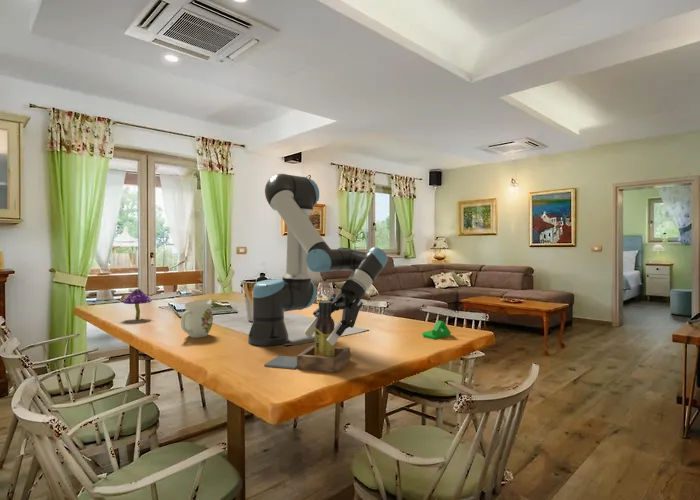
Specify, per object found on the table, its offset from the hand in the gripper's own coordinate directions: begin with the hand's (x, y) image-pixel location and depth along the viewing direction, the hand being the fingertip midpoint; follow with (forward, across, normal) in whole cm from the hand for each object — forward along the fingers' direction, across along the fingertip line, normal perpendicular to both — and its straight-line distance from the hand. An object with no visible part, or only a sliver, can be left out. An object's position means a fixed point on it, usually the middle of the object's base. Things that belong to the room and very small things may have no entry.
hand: (317, 339), depth 124 cm
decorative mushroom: (+25, +114, +13) cm, 118 cm away
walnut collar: (+4, 0, -8) cm, 9 cm away
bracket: (-38, +5, -50) cm, 63 cm away
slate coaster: (+10, +8, -2) cm, 13 cm away
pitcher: (+18, +62, +5) cm, 64 cm away
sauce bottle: (+4, 0, -8) cm, 9 cm away
